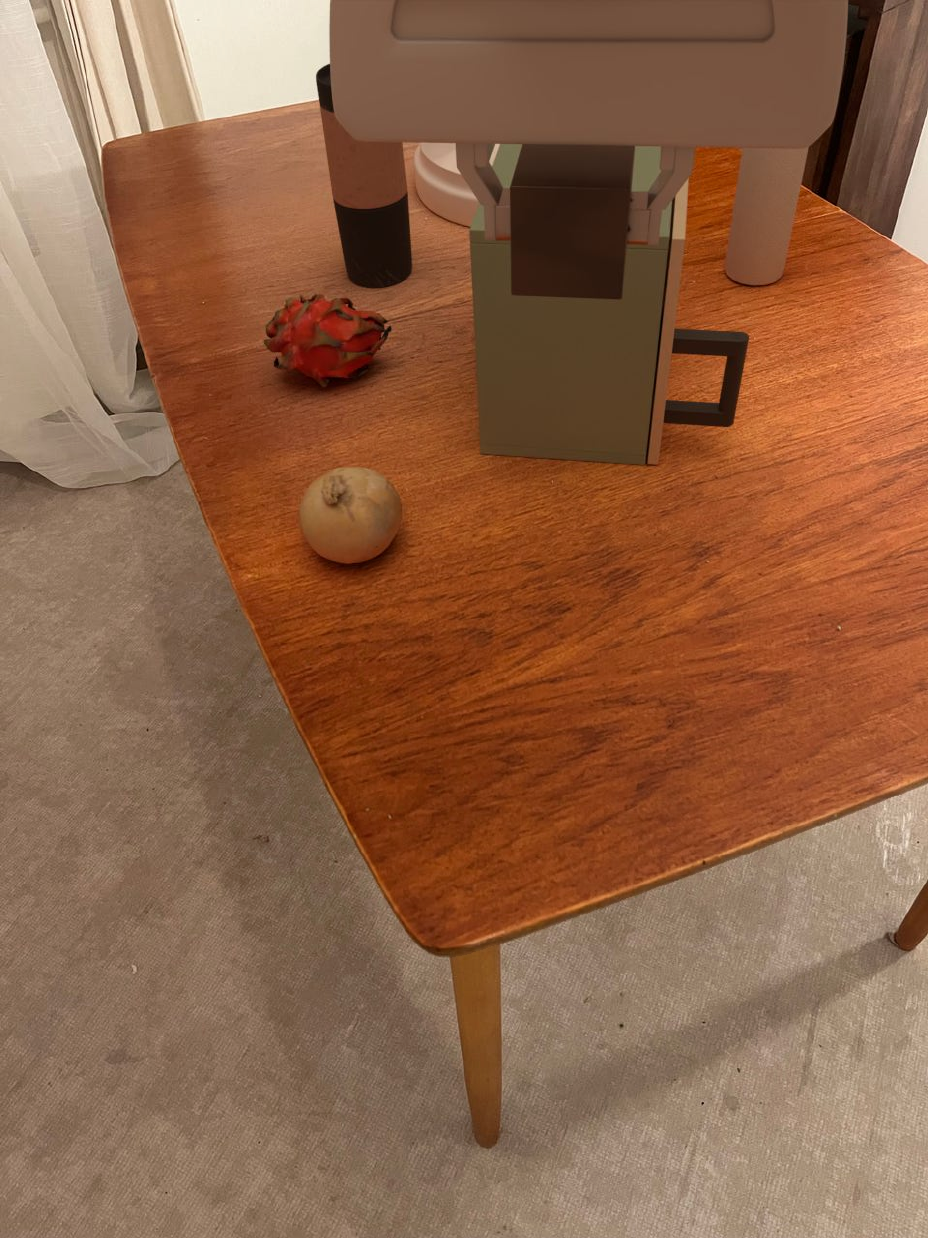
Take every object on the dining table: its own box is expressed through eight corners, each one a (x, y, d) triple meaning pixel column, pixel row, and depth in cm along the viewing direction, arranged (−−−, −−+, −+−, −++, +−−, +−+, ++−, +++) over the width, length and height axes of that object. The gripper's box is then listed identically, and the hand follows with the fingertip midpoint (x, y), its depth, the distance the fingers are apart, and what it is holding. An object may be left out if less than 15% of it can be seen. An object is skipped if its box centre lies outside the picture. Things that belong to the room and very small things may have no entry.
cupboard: (657, 313, 98) (679, 100, 83) (644, 465, 82) (669, 236, 67) (518, 306, 100) (515, 98, 85) (480, 454, 84) (468, 229, 69)
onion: (300, 518, 80) (284, 449, 75) (396, 500, 81) (386, 430, 75) (312, 586, 74) (295, 517, 69) (414, 566, 75) (405, 496, 70)
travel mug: (337, 261, 108) (307, 64, 93) (404, 248, 109) (384, 51, 95) (353, 294, 103) (323, 91, 88) (423, 280, 104) (405, 77, 90)
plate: (612, 244, 108) (615, 194, 104) (383, 220, 114) (378, 173, 110) (657, 143, 125) (661, 97, 121) (456, 127, 131) (453, 83, 127)
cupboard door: (728, 314, 97) (762, 103, 82) (728, 469, 81) (771, 241, 66) (660, 311, 98) (682, 102, 83) (647, 464, 82) (672, 238, 67)
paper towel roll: (736, 291, 100) (775, 61, 84) (715, 262, 104) (747, 38, 88) (803, 280, 100) (854, 51, 85) (779, 252, 104) (823, 29, 89)
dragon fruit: (265, 391, 95) (388, 388, 97) (265, 386, 87) (400, 383, 89) (259, 299, 93) (384, 298, 96) (259, 286, 85) (396, 285, 87)
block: (627, 246, 47) (635, 138, 43) (621, 300, 44) (630, 188, 40) (523, 243, 48) (523, 136, 44) (510, 295, 45) (509, 185, 41)
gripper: (277, -114, 34) (335, 263, 44) (898, -127, 31) (806, 280, 41) (323, -153, 38) (367, 200, 48) (874, -168, 35) (796, 211, 45)
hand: (573, 237), depth 45 cm, fingers closed on block, 5 cm apart
